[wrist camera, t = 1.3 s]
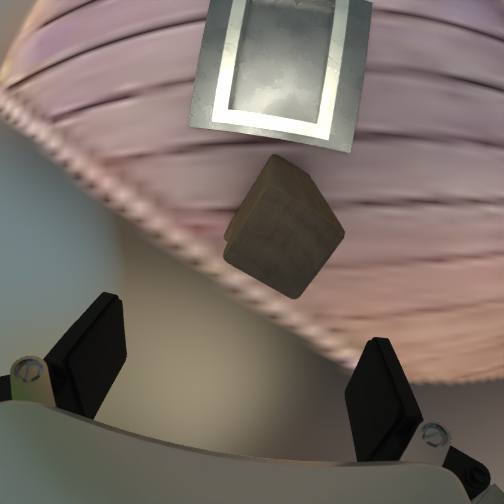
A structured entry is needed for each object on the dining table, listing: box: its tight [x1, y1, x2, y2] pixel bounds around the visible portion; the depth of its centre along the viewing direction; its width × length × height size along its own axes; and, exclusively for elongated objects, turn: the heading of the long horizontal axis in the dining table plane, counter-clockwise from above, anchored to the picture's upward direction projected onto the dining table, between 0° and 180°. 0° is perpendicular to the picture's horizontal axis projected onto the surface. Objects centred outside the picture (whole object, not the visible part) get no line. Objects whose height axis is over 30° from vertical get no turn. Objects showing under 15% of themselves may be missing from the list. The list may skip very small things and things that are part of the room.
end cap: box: [188, 0, 372, 153], centre depth 25 cm, size 16×17×4 cm
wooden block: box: [223, 154, 345, 299], centre depth 24 cm, size 9×4×18 cm, turn 149°
